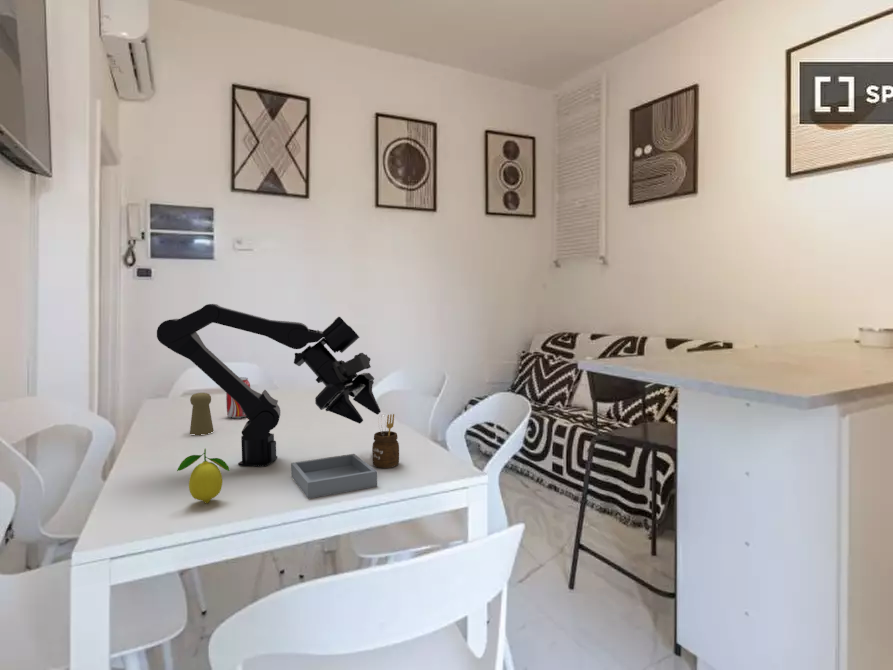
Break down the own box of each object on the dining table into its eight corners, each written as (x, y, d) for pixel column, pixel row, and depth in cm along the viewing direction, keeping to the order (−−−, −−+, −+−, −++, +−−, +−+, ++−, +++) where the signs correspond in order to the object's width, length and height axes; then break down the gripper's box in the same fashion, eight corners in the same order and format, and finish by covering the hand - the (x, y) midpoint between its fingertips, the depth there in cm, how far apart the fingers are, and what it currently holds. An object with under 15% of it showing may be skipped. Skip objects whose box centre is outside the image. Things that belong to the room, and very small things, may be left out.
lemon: (178, 508, 94) (176, 452, 93) (198, 496, 100) (196, 443, 99) (213, 510, 93) (211, 454, 92) (231, 498, 99) (230, 445, 98)
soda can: (227, 415, 169) (226, 377, 168) (251, 413, 171) (250, 376, 170) (225, 419, 162) (224, 380, 161) (250, 418, 164) (249, 379, 163)
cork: (184, 434, 144) (183, 394, 144) (199, 429, 150) (198, 390, 149) (203, 436, 143) (202, 395, 142) (218, 430, 149) (217, 391, 148)
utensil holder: (392, 459, 123) (392, 407, 122) (404, 466, 117) (403, 413, 116) (368, 463, 120) (368, 410, 119) (378, 470, 114) (378, 415, 114)
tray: (308, 498, 98) (307, 482, 98) (291, 477, 110) (291, 462, 110) (377, 486, 105) (377, 471, 105) (354, 467, 117) (354, 453, 117)
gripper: (327, 346, 111) (376, 401, 108) (366, 339, 128) (409, 386, 126) (294, 382, 113) (342, 436, 111) (337, 370, 131) (379, 417, 129)
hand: (370, 417), depth 119 cm, fingers open, 9 cm apart
